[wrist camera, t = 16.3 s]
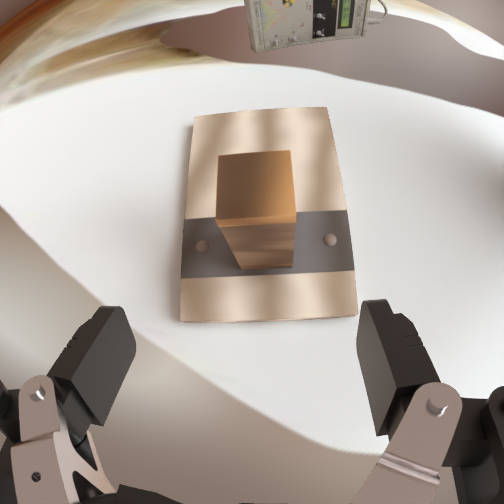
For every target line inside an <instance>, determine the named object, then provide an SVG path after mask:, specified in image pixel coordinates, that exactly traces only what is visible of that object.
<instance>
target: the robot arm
mask: <svg viewBox="0 0 504 504" xmlns="http://www.w3.org/2000/svg"><path fill="white" fill-rule="evenodd" d="M356 346H357V355H358V359H359V363H360V367H361V371H362V375H363V379H364V383H365V387H366V391H367V395H368V399H369V404H370V408H371V413H372V417H373V422H374V426H375V431H376V436H382V435H388V438H389V442H390V443H389V444H388V446H387V448H386V449H385V451H384V453H383V454H382V456H381V457H380V459H379V461H378V462H377V464H376V466H375V467H374V469H373V470H372V472H371V473H370V475H369V476H368V478H367V480H366V481H365V483H364V484H363V486H362V487H361V488H360V490H359V491H358V493H357V494H356V496H355V497H354V498H353V500H352V501H351V503H350V504H430V502H431V501H432V498H433V496H434V494H435V492H436V490H437V488H438V485H439V482H440V478H439V477H438V473H439V470H440V468H441V467H443V466H444V467H452V471H453V475H454V481H455V486H456V491H457V496H458V501H459V504H504V386H501V387H499V388H497V389H495V390H494V391H493V392H492V394H491V395H490V397H489V398H488V399H473V398H462V397H460V395H459V394H458V392H457V391H456V390H455V389H454V388H452V387H451V386H449V385H447V384H444V383H441V381H440V379H439V377H438V375H437V372H436V370H435V368H434V366H433V364H432V361H431V359H430V357H429V355H428V353H427V351H426V349H425V347H424V346H423V343H422V341H421V338H420V337H418V332H417V330H416V328H415V327H414V325H413V323H412V322H411V321H410V320H409V319H408V318H407V317H405V316H404V315H403V314H402V313H399V314H393V312H392V310H391V307H390V305H389V303H388V301H387V300H386V299H380V300H368V301H363V302H362V305H361V312H360V319H359V326H358V332H357V340H356ZM135 353H136V341H135V338H134V336H133V333H132V330H131V328H130V325H129V323H128V320H127V317H126V315H125V312H124V310H123V308H122V307H120V306H101V307H99V308H98V310H97V311H96V313H95V314H94V315H93V317H92V318H91V319H89V320H88V321H87V322H85V323H84V324H83V325H82V326H80V327H79V328H78V330H77V331H76V333H75V334H74V335H73V337H72V340H70V341H69V343H68V344H67V347H65V348H64V350H63V351H62V353H61V354H60V356H59V357H58V359H57V360H56V362H55V363H54V365H53V366H52V368H51V369H50V371H49V372H48V374H47V375H46V376H42V375H40V376H35V377H33V378H31V379H29V380H28V381H27V382H25V383H24V385H23V386H22V388H21V389H15V390H7V388H6V387H5V386H4V384H3V383H2V382H1V380H0V431H1V432H2V433H3V434H4V435H5V436H6V437H7V438H6V441H5V443H4V445H3V447H2V449H1V451H0V504H181V503H179V502H176V501H174V500H172V499H169V498H167V497H165V496H162V495H160V494H158V493H155V492H151V491H146V490H142V489H137V488H133V487H129V486H125V485H121V484H120V485H119V488H118V491H117V493H116V491H115V490H114V488H113V487H112V485H111V484H110V483H109V481H108V480H107V478H106V476H105V474H104V472H103V469H102V466H101V463H100V460H99V457H98V455H97V451H96V448H95V445H94V442H93V439H92V435H91V433H90V431H89V430H88V428H89V426H90V424H95V425H99V426H104V423H105V421H106V419H107V416H108V414H109V412H110V409H111V407H112V405H113V403H114V400H115V398H116V396H117V394H118V391H119V389H120V387H121V385H122V383H123V380H124V378H125V376H126V374H127V372H128V370H129V367H130V365H131V363H132V361H133V359H134V357H135ZM241 504H250V503H241ZM251 504H252V503H251Z"/></svg>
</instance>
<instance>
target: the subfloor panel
mask: <svg viewBox="0 0 504 504" xmlns="http://www.w3.org/2000/svg"><path fill="white" fill-rule="evenodd" d="M280 150H290V152H291V162H292V172H293V182H294V193H295V204H296V223H295V240H294V256H293V267H290V268H270V269H249V270H242V269H241V268H240V266H239V264H238V262H237V260H236V258H235V256H234V254H233V252H232V250H231V248H230V246H229V244H228V243H227V241H226V239H225V237H224V235H223V233H222V231H221V229H220V227H218V225H217V223H216V221H215V216H216V187H217V163H218V155H227V154H238V153H250V152H264V151H280ZM357 314H358V305H357V293H356V282H355V272H354V261H353V252H352V244H351V236H350V229H349V222H348V215H347V210H346V203H345V197H344V191H343V185H342V179H341V174H340V168H339V163H338V158H337V153H336V148H335V143H334V138H333V133H332V128H331V124H330V119H329V115H328V111H327V107H305V108H280V109H264V110H251V111H240V112H230V113H221V114H213V115H205V116H197V117H195V118H194V126H193V135H192V143H191V152H190V162H189V172H188V182H187V194H186V206H185V219H184V229H183V245H182V263H181V297H180V321H182V322H196V323H201V322H260V321H286V320H305V319H322V318H336V317H349V316H356V315H357Z"/></svg>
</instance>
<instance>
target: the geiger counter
mask: <svg viewBox="0 0 504 504" xmlns="http://www.w3.org/2000/svg"><path fill="white" fill-rule="evenodd" d="M378 1H379V2H380V3H381V4H382V5H383V7H384V9H385V15H384V17H382V19H379V18H368V17H369V10H370V3H371V0H244V3H245V9H246V15H247V22H248V29H249V36H250V43H251V48H252V50H254V51H255V52H256V53H259V52H263V51H268V50H273V49H279V48H284V47H289V46H295V45H300V44H307V43H314V42H322V41H331V40H340V39H350V38H364V37H365V35H366V29H367V24H375V23H380V21H382V20H384V19H385V18H386V17H387V8H386V6H385V5H384V3H383V2H382V1H381V0H378Z"/></svg>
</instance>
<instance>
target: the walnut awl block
mask: <svg viewBox="0 0 504 504" xmlns="http://www.w3.org/2000/svg"><path fill="white" fill-rule="evenodd" d="M215 221H216V223H217V225H218V227H220V229H221V231H222V233H223V235H224V237H225V239H226V241H227V243H228V244H229V246H230V248H231V250H232V252H233V254H234V256H235V258H236V260H237V262H238V264H239V266H240V268H241V269H242V270H249V269H270V268H290V267H293V256H294V240H295V223H296V204H295V193H294V182H293V172H292V162H291V152H290V150H280V151H264V152H250V153H238V154H227V155H218V163H217V187H216V216H215Z"/></svg>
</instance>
